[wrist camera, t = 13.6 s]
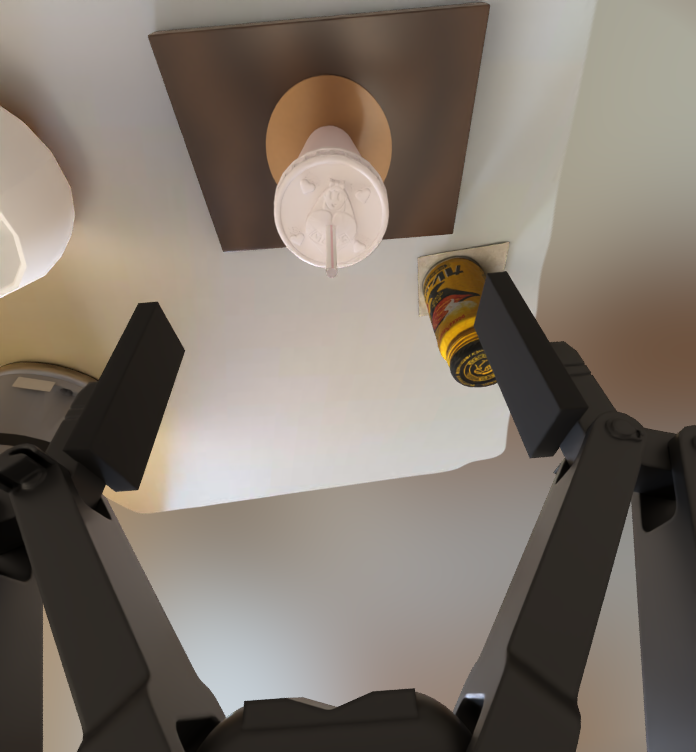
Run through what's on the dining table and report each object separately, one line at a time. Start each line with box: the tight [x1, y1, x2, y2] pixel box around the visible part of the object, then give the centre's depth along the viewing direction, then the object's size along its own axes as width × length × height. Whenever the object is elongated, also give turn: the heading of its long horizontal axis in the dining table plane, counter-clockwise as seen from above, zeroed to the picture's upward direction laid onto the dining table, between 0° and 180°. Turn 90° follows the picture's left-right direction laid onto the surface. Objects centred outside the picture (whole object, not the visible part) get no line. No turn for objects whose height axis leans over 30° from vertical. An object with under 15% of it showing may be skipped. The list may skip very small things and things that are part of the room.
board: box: [148, 2, 490, 252], centre depth 27 cm, size 20×14×2 cm
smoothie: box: [274, 126, 389, 278], centre depth 22 cm, size 6×6×14 cm
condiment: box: [418, 242, 509, 387], centre depth 33 cm, size 7×8×12 cm
